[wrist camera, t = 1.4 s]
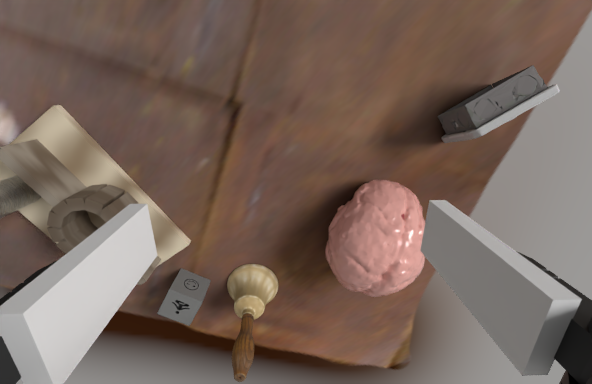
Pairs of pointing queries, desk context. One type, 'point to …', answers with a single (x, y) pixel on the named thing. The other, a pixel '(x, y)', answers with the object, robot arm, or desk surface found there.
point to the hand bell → (249, 309)
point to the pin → (15, 195)
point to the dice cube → (184, 297)
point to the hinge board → (79, 185)
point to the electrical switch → (495, 105)
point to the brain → (377, 239)
